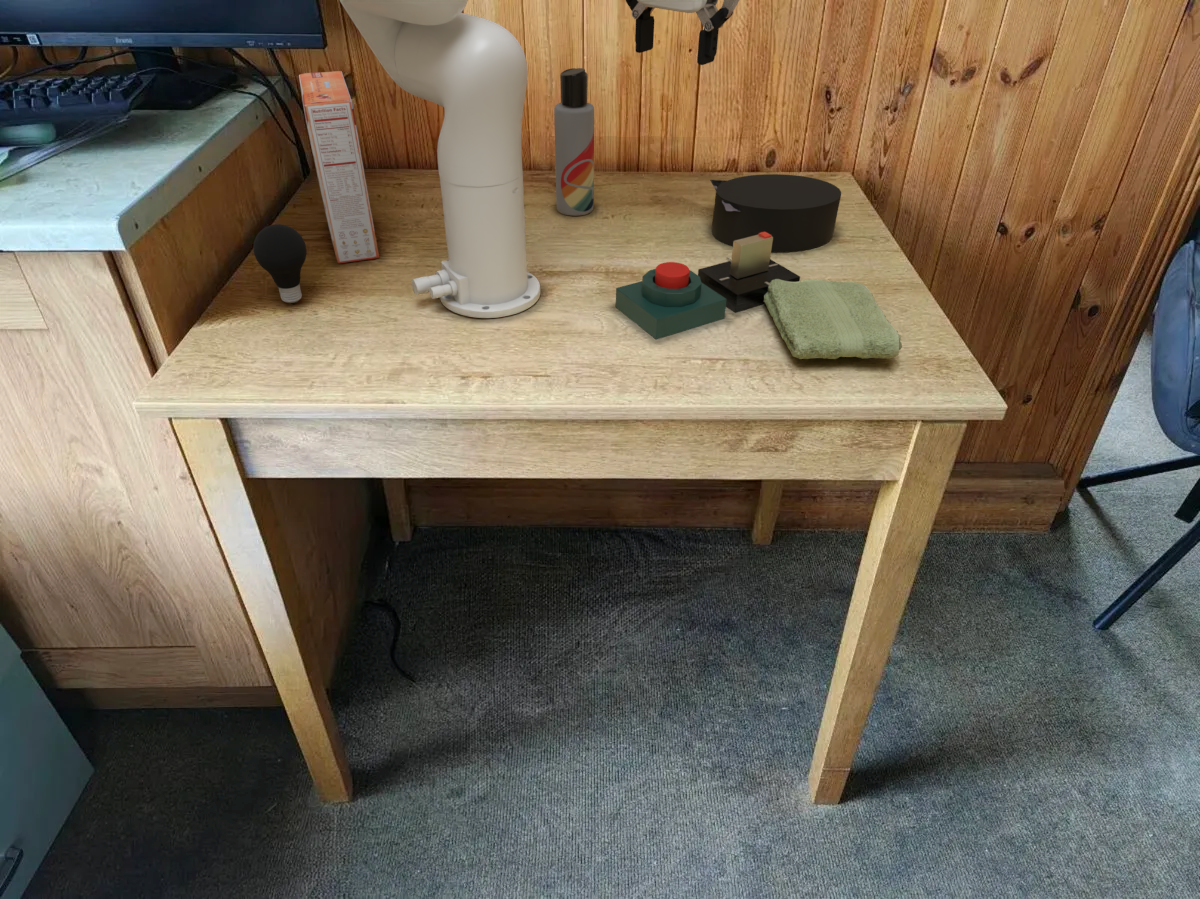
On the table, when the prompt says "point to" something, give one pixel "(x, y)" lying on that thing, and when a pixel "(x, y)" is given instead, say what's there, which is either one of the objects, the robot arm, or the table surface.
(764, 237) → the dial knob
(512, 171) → the robot arm
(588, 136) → the lotion bottle
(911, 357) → the table surface
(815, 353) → the washcloth
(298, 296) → the light bulb
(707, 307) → the button block
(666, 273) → the button
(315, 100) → the cracker box
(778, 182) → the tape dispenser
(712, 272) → the dial panel
